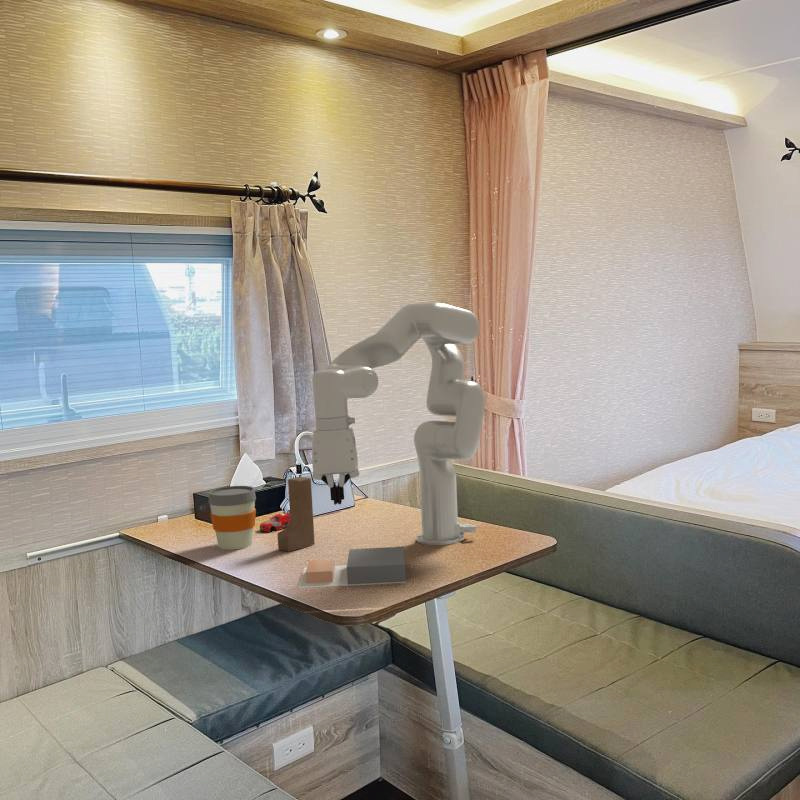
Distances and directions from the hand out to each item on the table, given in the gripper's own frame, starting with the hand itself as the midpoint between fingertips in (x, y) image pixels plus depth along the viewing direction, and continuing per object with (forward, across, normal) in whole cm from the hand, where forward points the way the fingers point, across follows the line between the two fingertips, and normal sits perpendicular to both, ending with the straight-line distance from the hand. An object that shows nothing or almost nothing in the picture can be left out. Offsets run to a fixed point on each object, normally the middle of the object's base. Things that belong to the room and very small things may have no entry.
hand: (337, 502), depth 188 cm
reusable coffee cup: (+18, +31, -31) cm, 47 cm away
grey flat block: (+17, -8, +1) cm, 19 cm away
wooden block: (+18, +14, -26) cm, 35 cm away
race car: (+18, +21, -48) cm, 56 cm away
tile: (+16, +5, +1) cm, 16 cm away
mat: (+17, -2, +1) cm, 18 cm away
